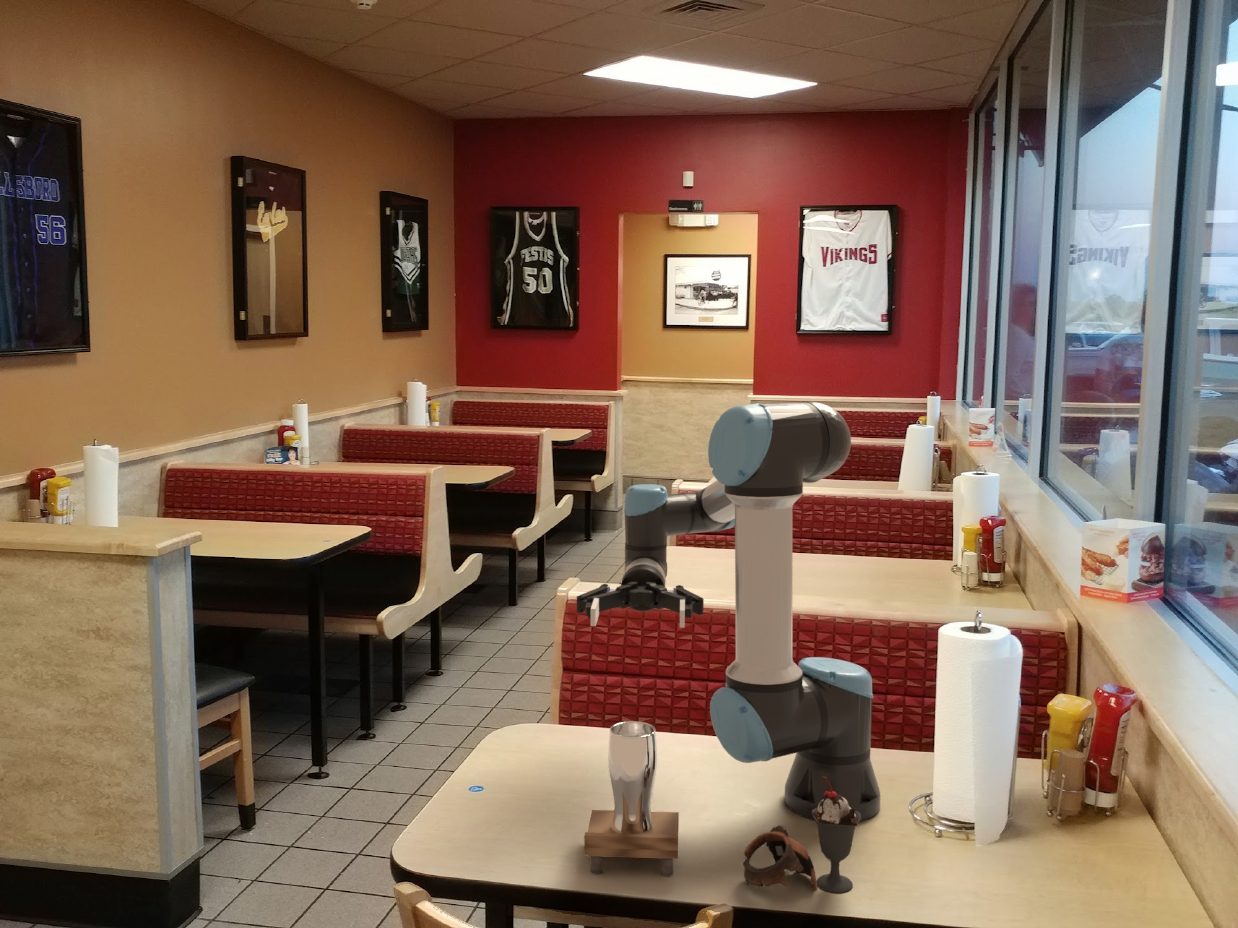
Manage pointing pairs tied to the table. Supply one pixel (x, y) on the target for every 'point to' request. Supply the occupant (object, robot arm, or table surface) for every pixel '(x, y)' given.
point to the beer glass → (632, 775)
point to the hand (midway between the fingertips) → (637, 618)
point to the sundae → (835, 837)
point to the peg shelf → (632, 840)
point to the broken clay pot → (778, 859)
